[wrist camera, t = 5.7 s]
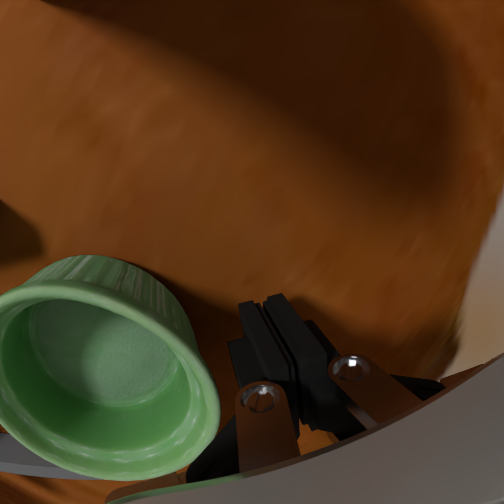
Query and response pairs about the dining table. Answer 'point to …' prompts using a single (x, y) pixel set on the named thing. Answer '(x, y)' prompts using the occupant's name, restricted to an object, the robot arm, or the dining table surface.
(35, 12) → the dining table surface
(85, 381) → the ramekin
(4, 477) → the dining table surface
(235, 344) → the robot arm
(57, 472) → the display stand
